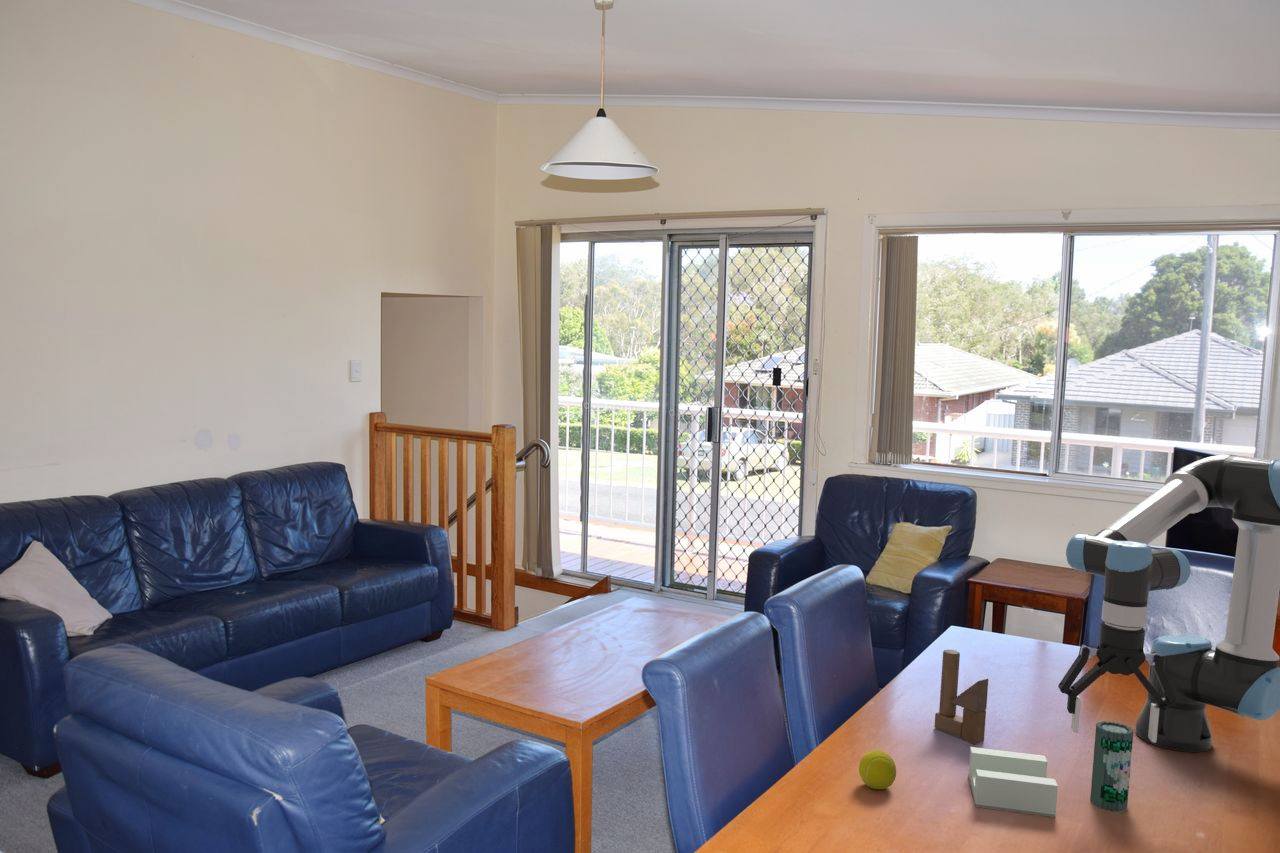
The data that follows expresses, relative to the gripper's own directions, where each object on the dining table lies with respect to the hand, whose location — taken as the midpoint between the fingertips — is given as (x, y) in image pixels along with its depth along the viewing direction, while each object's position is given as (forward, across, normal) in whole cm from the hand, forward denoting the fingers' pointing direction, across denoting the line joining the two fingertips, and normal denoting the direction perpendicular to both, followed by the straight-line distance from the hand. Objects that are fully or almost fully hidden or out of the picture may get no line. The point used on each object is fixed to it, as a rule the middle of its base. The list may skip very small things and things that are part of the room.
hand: (1113, 735), depth 190 cm
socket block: (+14, +18, +2) cm, 22 cm away
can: (+14, 0, 0) cm, 14 cm away
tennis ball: (+14, +43, +6) cm, 45 cm away
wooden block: (+14, +25, -27) cm, 39 cm away
